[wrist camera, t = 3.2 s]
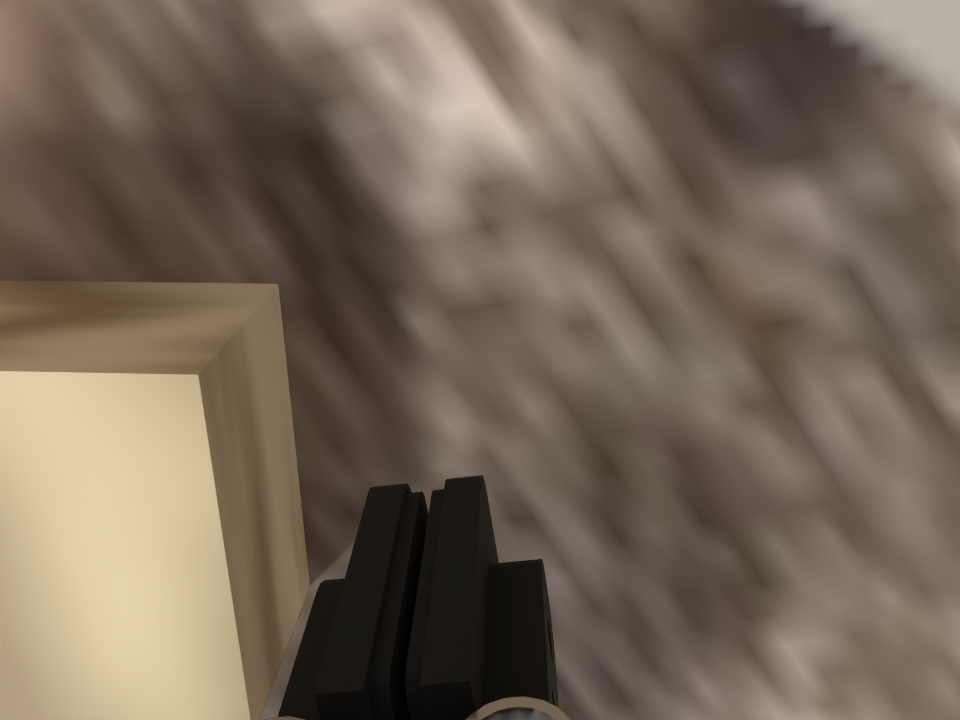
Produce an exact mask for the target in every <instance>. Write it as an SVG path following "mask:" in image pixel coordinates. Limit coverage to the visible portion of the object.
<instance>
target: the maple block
mask: <svg viewBox="0 0 960 720" xmlns="http://www.w3.org/2000/svg"><path fill="white" fill-rule="evenodd" d="M309 587H310V582H309V573H308V563H307V553H306V544H305V534H304V525H303V515H302V506H301V496H300V487H299V477H298V467H297V458H296V448H295V439H294V429H293V420H292V410H291V401H290V391H289V382H288V372H287V362H286V353H285V343H284V334H283V324H282V315H281V305H280V296H279V286H278V284H262V283H182V282H102V281H22V280H0V720H259V719H260V717H261V714H262V711H263V709H264V706H265V703H266V701H267V698H268V695H269V693H270V690H271V687H272V685H273V682H274V679H275V677H276V674H277V671H278V669H279V666H280V664H281V661H282V658H283V656H284V653H285V650H286V648H287V645H288V642H289V640H290V637H291V634H292V632H293V629H294V626H295V624H296V621H297V618H298V616H299V613H300V611H301V608H302V605H303V603H304V600H305V597H306V595H307V592H308V589H309Z"/></svg>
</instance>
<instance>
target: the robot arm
mask: <svg viewBox="0 0 960 720" xmlns="http://www.w3.org/2000/svg"><path fill="white" fill-rule="evenodd" d="M266 720H571V719H570V718H569V717H568V716H567V715H566V714H565V713H564V712H563V711H562V710H561V709H560V708H559V707H558V695H557V680H556V665H555V652H554V641H553V632H552V622H551V614H550V606H549V599H548V592H547V585H546V578H545V571H544V565H543V560H542V559H537V560H527V561H517V562H507V563H499V562H498V556H497V550H496V544H495V538H494V532H493V527H492V521H491V515H490V509H489V503H488V497H487V491H486V486H485V481H484V477H483V475H480V476H471V477H462V478H453V479H446V481H445V486H444V489H442V490H433V491H432V496H431V503H430V509H429V515H428V510H427V505H426V500H425V496H424V494H423V492H414V493H412V492H411V489H410V487H409V485H408V484H407V483H406V484H397V485H388V486H379V487H372V488H370V490H369V492H368V496H367V499H366V503H365V507H364V510H363V514H362V518H361V522H360V525H359V529H358V533H357V536H356V540H355V544H354V547H353V551H352V555H351V558H350V562H349V566H348V569H347V573H346V577H345V579H335V580H325V581H323V582H322V583H321V584H320V586H319V588H318V590H317V593H316V596H315V599H314V602H313V605H312V609H311V612H310V615H309V618H308V621H307V625H306V628H305V631H304V634H303V637H302V641H301V644H300V647H299V650H298V654H297V657H296V660H295V663H294V666H293V670H292V673H291V676H290V679H289V682H288V686H287V689H286V692H285V695H284V698H283V702H282V705H281V708H280V711H279V714H278V717H275V718H269V719H266Z"/></svg>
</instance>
